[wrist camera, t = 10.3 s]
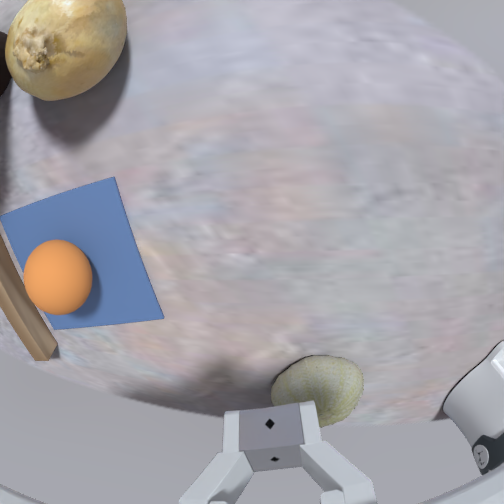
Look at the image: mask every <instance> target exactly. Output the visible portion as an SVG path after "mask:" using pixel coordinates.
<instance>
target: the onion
mask: <svg viewBox="0 0 504 504" xmlns="http://www.w3.org/2000/svg"><path fill="white" fill-rule="evenodd" d="M126 34H127V18H126V11H125V7H124V4H123V1H122V0H28V1H27V2H26V4H25V5H24V6H23V7H22V8H21V10H20V11H19V12H18V13H17V15H16V17H15V18H14V20H13V22H12V24H11V26H10V29H9V32H8V36H7V41H6V48H5V59H6V64H7V67H8V69H9V72H10V74H11V76H12V77H13V79H14V81H15V83H16V84H17V85H18V86H19V87H20V88H21V89H22V90H23V91H25V92H27V93H29V94H31V95H33V96H35V97H38V98H40V99H42V100H46V101H55V100H62V99H66V98H70V97H73V96H76V95H79V94H81V93H83V92H85V91H87V90H89V89H90V88H92V87H93V86H95V85H96V84H97V83H98V82H100V81H101V80H102V79H103V78H104V77H105V76H106V75H107V74H108V73H109V71H110V70H111V69H112V67H113V66H114V64H115V63H116V62H117V60H118V58H119V56H120V54H121V52H122V49H123V46H124V43H125V39H126Z"/></svg>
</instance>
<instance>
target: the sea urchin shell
mask: <svg viewBox="0 0 504 504" xmlns="http://www.w3.org/2000/svg"><path fill="white" fill-rule="evenodd" d="M363 380H364V379H363V373H362V372H361V370H360V369H359V367H358V365H356V364H355V363H353V362H351V361H348V360H347V359H345V358H337V357H333V356H329V355H328V356H317V355H313V356H310V357H305V358H304V359H302V360H300V361H299V362H297V363H295V364H293V365H291V367H289V368H288V369H287V370H286V371H285V372H283V373H281V375H279V376H278V378H277V379H276V381H275V383H274V384H273V386H272V390H271V401H272V403H273V405H274V406H280V405H286V404H293V403H301V402H307V401H312V400H314V402H315V406H316V412H317V417H318V422H319V427H321V428H322V427H324V426H328V425H330V424H331V425H333V424H334V423H336V422H339V421H342V420H344V419H345V418H347V416H349V415H350V414H351V412H352V411H353V409H355V407H356V406H357V405H358V404H357V403H358V401H359V399H360V397H361V395H362V393H363V390H364V389H363V386H364V385H363Z"/></svg>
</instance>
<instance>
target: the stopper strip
mask: <svg viewBox="0 0 504 504" xmlns="http://www.w3.org/2000/svg"><path fill="white" fill-rule="evenodd" d="M0 307H1V308H2V310H3V312H4V314H5V315H6V317H7V319H8V320H9V322H10V324H11V325H12V327H13V328H14V330H15V332H16V333H17V335H18V336H19V338H20V339H21V341H22V342H23V344H24V345H25V347H26V348H27V350H28V351H29V353H30V354H31V355H32V357H33V358H34V360H35V361H49V359H50V357H51V355H52V353H53V351H54V349H55V348H56V346H57V342H56V341H55V339H54V337H53V336H52V334H51V333H50V331H49V329H48V328H47V326H46V324H45V323H44V321H43V319H42V318H41V316H40V314H39V312H38V311H37V309H36V307H35V305H34V303H33V302H32V301H31V299H30V298H29V296H28V294H27V292H26V289H25V287H24V285H23V283H22V281H21V279H20V277H19V275H18V273H17V271H16V268H15V266H14V264H13V262H12V260H11V258H10V255H9V253H8V251H7V249H6V246H5V244H4V242H3V239H2V237H1V235H0Z"/></svg>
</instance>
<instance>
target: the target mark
mask: <svg viewBox="0 0 504 504" xmlns="http://www.w3.org/2000/svg"><path fill="white" fill-rule="evenodd" d="M0 220H1V222H2V225H3V227H4V230H5V232H6V235H7V237H8V240H9V242H10V244H11V247H12V249H13V251H14V253H15V256H16V258H17V260H18V262H19V264H20V267H21V269H22V271H23V273H24V268H25V264H26V261H27V259H28V257H29V255H30V254H31V253H32V251H33V250H34V249H35V248H36V247H37V246H39V245H40V244H42V243H44V242H46V241H50V240H65V241H68V242H70V243H73V244H74V245H76V246H77V247H78V248H80V249H81V250H82V252H83V253H84V254H85V255H86V257H87V259H88V261H89V263H90V266H91V270H92V287H91V291H90V293H89V296H88V297H87V299H86V301H85V302H84V303H83V305H82V306H81V307H79V308H78V309H77V310H75V311H74V312H71V313H69V314H65V315H53V314H49V313H46V312H44V313H45V315H46V316H47V318H48V320H49V321H50V323H51V325H52V327H53V328H54V330H57V329H69V328H81V327H92V326H102V325H112V324H121V323H131V322H139V321H148V320H156V319H164V315H163V313H162V310H161V308H160V305H159V303H158V301H157V298H156V296H155V293H154V291H153V288H152V285H151V283H150V280H149V278H148V275H147V272H146V270H145V267H144V264H143V262H142V259H141V256H140V254H139V251H138V248H137V245H136V242H135V239H134V237H133V234H132V231H131V228H130V225H129V222H128V219H127V216H126V213H125V209H124V206H123V203H122V200H121V197H120V194H119V190H118V187H117V184H116V180H115V177H111V178H108V179H104V180H101V181H98V182H94V183H91V184H88V185H85V186H82V187H78V188H75V189H72V190H69V191H66V192H63V193H60V194H57V195H54V196H52V197H49V198H46V199H43V200H40V201H38V202H35V203H32V204H30V205H27V206H24V207H22V208H19V209H16V210H14V211H11V212H9V213H6V214H4V215H1V216H0Z"/></svg>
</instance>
